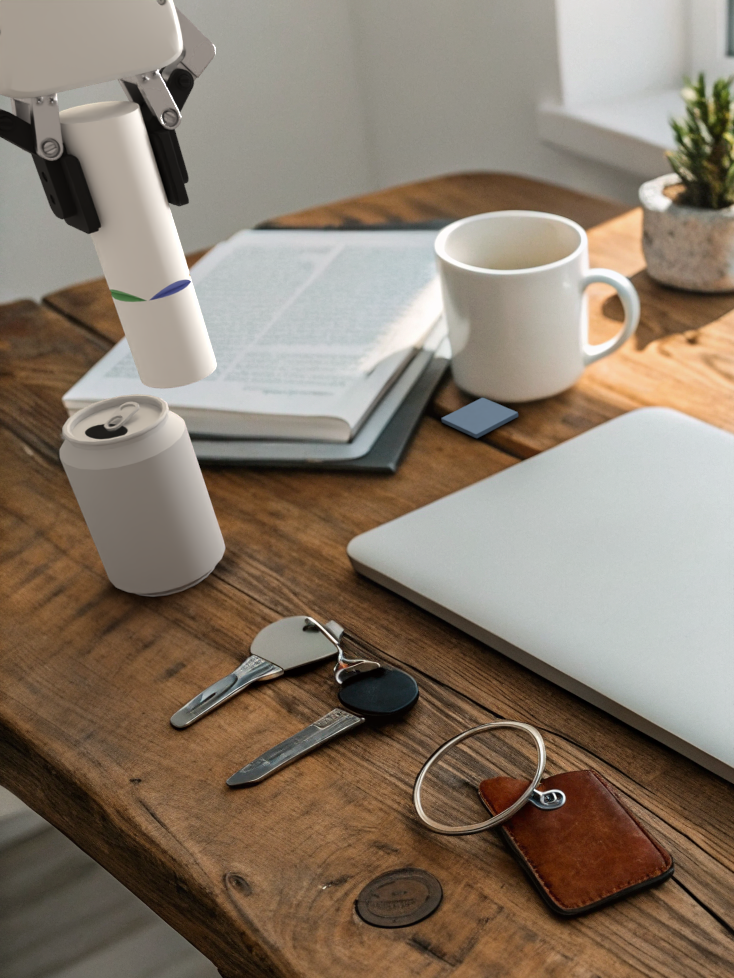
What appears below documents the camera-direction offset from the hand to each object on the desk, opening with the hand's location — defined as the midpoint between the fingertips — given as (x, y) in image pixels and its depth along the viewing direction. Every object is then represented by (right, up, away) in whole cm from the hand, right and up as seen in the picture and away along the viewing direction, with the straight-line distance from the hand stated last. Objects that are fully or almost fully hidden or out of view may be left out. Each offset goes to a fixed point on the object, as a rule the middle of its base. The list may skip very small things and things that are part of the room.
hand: (127, 210), depth 64 cm
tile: (+14, -9, +31) cm, 35 cm away
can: (-4, -20, +16) cm, 26 cm away
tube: (+1, -8, +6) cm, 10 cm away
